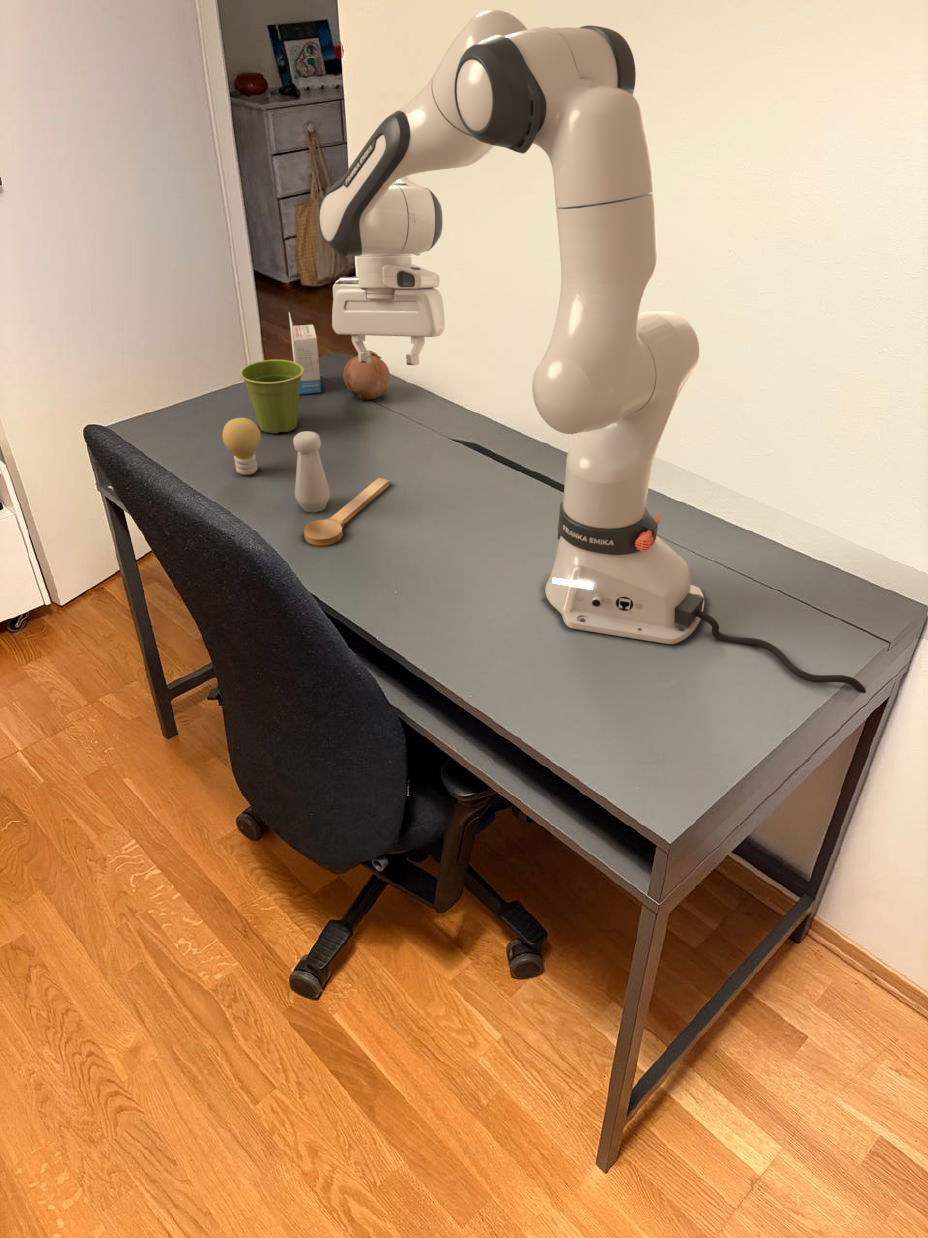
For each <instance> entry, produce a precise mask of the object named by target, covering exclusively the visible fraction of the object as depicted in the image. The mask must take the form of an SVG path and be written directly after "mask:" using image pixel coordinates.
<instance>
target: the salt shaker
mask: <svg viewBox="0 0 928 1238" xmlns="http://www.w3.org/2000/svg"><path fill="white" fill-rule="evenodd" d="M292 443H293V447H294V450H295V451H296V452H297V458H296V471H295V473H296V474H295V484H294V497H295V500H296V501H297V503H298V504H299V506H300V507H301V508H302V509H303V511H304V512H305V513H315V514H316V513H319V512H321V511H324V510H326V507H327V505H328V502H329V500H330V498H331V490H330V487H329V483H328V480H327V477H326V473H325V470H324V466H323V462H322V459H321V456H320V451H319V450H320V449H321V446H322V442H321V438H320V435H319V434H318V433H317V432H315V431H310V430H306V431H304V430H303V431H301V432H298V433H296V435H294V437H293V440H292Z"/></svg>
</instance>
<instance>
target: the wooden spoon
mask: <svg viewBox="0 0 928 1238" xmlns="http://www.w3.org/2000/svg"><path fill="white" fill-rule="evenodd" d="M390 484H391V483H390V480H389V479H385V478H381V477H378V478H376V479H375V480H374V481H373V482H372V483H370V484H369V485H368V486H366V488H364V489H363V490H362V491H361V492H359V493H358V494H357V495H355V497H353V498H352V499H351V500H350V501H349V502H347V504H344V506H343V507H341V508H340V509H339V510H338V511H337V512H336V513H334V514H333V515H332V516H330V517H326V519H318V520H314V521H311V522H309V523H308V524H306V525H305V527H304V529H303V536H304V537H303V538H304V540H305V541H306V543H308V544H310V545H313V546H321V547H322V546H330V545H333V544H335V543H337V542H339V541H340V540H341V539H342V537H343V535H344V534H343V529H344V528H345V524H347V523H348V522H349V521H350V520H351V519H352V518H354V517H355V516H356V515H358V514H359V512H360V511H361V510H363V509H364V508H365V507H366V506H367V505H369V504H370V503H371V502H372V501H374V499H376V498H377V497H378V496H379V495H381V493H383V492H384V491H385V490H386V489H387V488H389V486H390Z"/></svg>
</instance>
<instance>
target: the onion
mask: <svg viewBox="0 0 928 1238" xmlns="http://www.w3.org/2000/svg"><path fill="white" fill-rule="evenodd" d="M367 352H371V363H359V356H358V355H356V356H354V357H352V358H350V359H349V360H348V361H347V362H346V364H345V366H344V368H343V374H342V375H343V381H344V385H345V386H346V387H347V389H348V390H349V391H350V392H351V394H352V395H353V396H354V397H355V398H357V399H359V400H362V401H366V400H374V399H375V400H376V399H377V398H381V397H383V395H384V394H385V393H386V392H387V390H388V388H389V384H390V380H391V374H390V370H389V367H388V365H387V364H386V363H385V361H384V360H382V357H381V356H380V355H379V354H378V353H376V352H375V351H372V350H367Z"/></svg>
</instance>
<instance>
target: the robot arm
mask: <svg viewBox="0 0 928 1238" xmlns="http://www.w3.org/2000/svg"><path fill="white" fill-rule="evenodd" d="M636 75H637V73H636V63H635V59H634V55H633V51H632V49H631V47H630V45H629V43H628V41H627V40H626V39H625V38H624V36H623V35H622V34H620V33H619V32H617V31H615V30H613V29H611V28H608V27H604V26H598V25H590V24H589V25H583V26H580V27H554V28H553V27H548V26H541V27H534V28H529V29H528V28H527V27H526V25H525V24H524V23H523V22H522V21H521V20H520V19H519V18H517V17H516V16H515V15H513V14H511V13H508V12H507V11H505V10H504V11H503V10H499V9H489V10H484V11H481V12H480V13H477V14H476V15H475V16H473V17H472V18H471V19H470V20H469V21H468V22H467V23H466V24H465V26H464V27H463V28H462V29H461V31H460V32H459V33H458V35H457V36H456V37H455V38H454V40H453V41H452V42H451V44H450V46H449V47H448V48H447V50H446V52H445V54H444V55H443V56H442V58H441V60H440V62H439V64H438V65H437V67H436V69H435V71H434V74H432V77H431V79H429V81H428V82H427V84H426V85H425V86H424V87H423V88H422V89H421V90H420V92H418V93H417V95H415V96H414V98H412V99H411V100H410V101H409V102H408V103H406V104H404V105H403V106H402V107H401V108H400V109H398V110H396V111H394V112H393V113H391V114H390V115H389V116H387V117H386V118H384V119H383V121H381V123H380V124H379V125H378V126H377V128H376V129H375V131H374V132H373V133H372V135H371V136H370V137H369V139H368V140H367V142H366V143H365V145H364V146H363V148H362V149H361V150H360V152H359V153H358V154H357V156H356V158H355V159H354V160H353V162H352V163H351V165H349V168H348V169H347V171H346V172H345V173H344V174H343V176H342V177H341V178H340V179H339V180H337V181H336V182H335V183H333V185H331V187H329V188H328V190H327V191H326V193H325V194H324V196H323V197H322V200H321V203H320V206H319V212H318V213H319V214H318V223H319V229H320V233H321V237H322V239H323V240H324V241H325V243H326V244H327V245H328V246H329V247H330V248H331V250H333V251H334V252H335V253H336V254H338V255H339V256H341V257H342V258H351V257H352V258H353V257H356V265H357V266H356V267H357V276H341V277H339V278H338V279H336V280H335V282H334V284H332V298H333V300H332V309H331V310H332V311H331V312H332V313H331V318H332V319H331V322H332V323H331V327H332V330H333V331H334V333H335V334H336V335H341V336H342V335H343V336H351V343H352V345H353V346H354V348H355V350H356V352H357V354H358V355H357V356H359V363H371V352H367V351H368V350H367V347H366V345H365V344H364V342H365V341H366V336H374V337H375V336H378V337H409V338H410V344H412V345H413V346H412V347H411V350H410V353H406V354H405V359H406V361H405V363H406V365H407V366H419V363H420V354H421V351H422V349H423V347H424V346H425V343H426V340H425V338H436V337H441V335H443V334H442V333H443V332H444V331H445V327H446V323H445V322H446V321H445V319H446V318H445V308H444V300H443V295H442V294H441V292H440V290H438V289H437V288H438V287H439V286H440V281H441V280H440V275H439V274H438V273H437V272H434V271H431V270H428V269H426V268H423V267H421V266H418V265H416V264H413V262H412V255H413V254H414V255H416V254H422V253H425V252H429V251H431V250H432V249H433V248H434V247H435V245H437V243H438V241H439V240H440V238H441V236H442V233H443V208H442V205H441V203H440V201H439V199H438V198H437V196H436V194H434V193H433V191H432V190H431V189H430V188H428V187H424V186H421V185H419V184H416V183H415V182H413V181H412V180H410V179H409V178H408V176H412V175H416V174H420V173H426V172H432V171H440V170H450V169H451V170H452V169H456V168H464V167H467V166H471V165H473V164H476V163H477V162H479V161H480V160H482V159H483V158H484V157H485V156H486V155H488V154H489V153H490V152H491V151H492V150H493V149H494V148H495V147H501V148H505V149H508V150H510V151H513V152H516V153H519V154H521V155H522V154H526V153H527V152H528V151H529V150H530V148H531V147H532V145H536V146H538V147H539V148H540V149H542V150H543V152H545V154H546V155H547V157H548V159H549V162H550V165H551V168H552V169H551V170H552V174H553V176H552V177H553V191H554V202H555V204H554V205H555V211H556V212H555V213H556V224H557V232H558V233H557V234H558V246H559V247H558V248H559V259H560V260H559V261H560V278H561V279H560V291H559V300H558V305H557V306H558V307H557V313H556V317H555V323H554V327H553V329H552V335H551V338H550V341H549V343H548V346H547V349H546V351H545V352H544V354H543V357H542V359H541V360H540V362H539V363H538V365H537V366H536V368H535V371H534V373H533V377H532V380H531V381H532V382H531V383H532V384H531V392H532V398H533V403H534V405H535V408H536V410H537V412H538V414H539V416H540V417H541V418H542V420H543V421H544V422H545V423H546V424H547V425H548V426H549V427H550V428H551V429H553V430H554V431H557V432H558V433H561V434H565V435H574V434H575V435H576V434H577V435H576V437H575V438H574V439H573V441H572V443H571V445H570V446H569V449H568V452H567V455H566V462H565V473H564V474H565V475H564V485H563V486H564V487H563V488H564V489H563V501H561V502H560V505H559V511H558V515H557V525H556V527H557V540H558V545H557V550H556V554H555V557H554V562H553V566H552V569H551V572H550V574H549V577H548V580H547V582H546V584H545V588H544V591H545V596H546V599H547V601H548V602H549V603H550V605H551V606H552V607H553V608H554V609H555V610H557V611H558V613H560V615H561V617H562V620H563V623H564V624H565V625H566V627H567V628H570V629H573V630H579V631H585V632H591V633H597V634H604V635H610V636H616V637H623V638H628V639H634V640H641V641H647V642H653V643H657V644H658V643H659V644H665V645H677V644H678V643H680V642H682V641H684V640H686V639H687V638H688V637H689V636H691V635H692V634H693V633H694V632H695V630H696V629H697V627H698V625H699V623H701V620H703V621H704V622H705V623H707V624H709V625H710V627H711V635H712V637H714V638H715V639H716V640H718V641H721V642H724V643H731V644H737V645H747V646H754V647H758V648H759V647H760V648H762V649H764V650H767V651H769V652H770V653H771V654H772V655H774V656H775V657H776V659H778V660H779V661H780V663H781V664H782V665H783V666H784V667H785V668H786V670H788V671H789V672H791V673H792V674H793V675H795V676H797V677H798V678H800V679H803V680H805V681H807V682H812V683H826V684H827V683H843V684H846V685H850V686H851V687H853V688H854V689H855V690H856V691H857V692H859V693H860V694H866V693H867V690H866V688H865V687H864V685H863V684H862V683H861V682H860V681H859V680H857V679H856V678H853V677H852V676H849V675H845V674H844V675H843V674H824V675H823V674H814V673H813V674H812V673H809V672H806V671H804V670H802V669H800V668H798V666H796V665H795V664H793V663H792V661H791V660H790V659H789V658H788V657H787V656H786V655H785V654H784V653H783V652H782V651H781V650H780V649H779V648H778V647H777V646H775V645H773V644H772V643H770V642H769V641H766V640H763V639H759V638H753V637H734V636H728V635H725V634H723V633H722V632H720V631H719V630H720V625H719V622H718V621H717V620H716V619H715V617H713V616H711V615H709V614H708V613H706V612H704V610H705V597H704V593H703V592H702V590H701V588H699V587H698V586H696V585H694V584H691V583H692V580H691V572H690V567H689V565H688V562H687V561H686V560H685V559H684V558H683V557H682V556H681V555H679V554H678V553H677V552H676V551H675V550H674V549H672V548H671V547H670V546H669V545H668V544H667V543H666V542H664V540H663V539H661V537H659V536H658V528H659V524H660V520H661V512H658V514H657V515H656V517H655V518H654V517H653V516H652V514H650V512H649V510H648V508H647V500H648V494H649V493H648V492H649V487H650V479H651V474H652V468H653V464H654V459H655V456H656V453H657V449H658V447H659V444H660V441H661V440H662V436H663V433H664V431H665V428H666V427H667V423H668V421H669V419H670V416H671V414H672V411H673V408H674V406H675V404H676V401H677V399H678V397H679V395H680V393H681V391H682V390H683V387H684V386H685V384H686V383H687V381H688V380H689V379H690V377H691V376H692V375H693V373H694V372H695V370H696V368H697V366H698V363H699V358H700V344H699V343H700V342H699V338H698V336H697V333H696V331H695V328H694V327H693V326H692V325H691V323H690V322H689V321H688V320H687V319H686V318H685V317H684V316H682V315H680V314H678V313H676V312H674V311H667V310H664V311H661V310H660V311H659V310H658V311H657V310H655V311H643V312H640V310H641V305H642V301H643V297H644V295H645V292H646V290H647V288H648V285H649V283H650V281H651V280H652V279H653V277H654V275H655V272H656V270H657V266H658V263H659V261H658V260H659V254H658V253H659V252H658V233H657V220H656V218H657V217H656V199H655V192H654V191H655V185H654V172H653V165H652V156H651V151H650V150H651V149H650V145H649V139H648V135H647V129H646V124H645V121H644V117H643V112H642V109H641V106H640V104H639V102H638V100H637V99H636V97H635V96H634V92H635V88H636V87H635V86H636Z"/></svg>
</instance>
